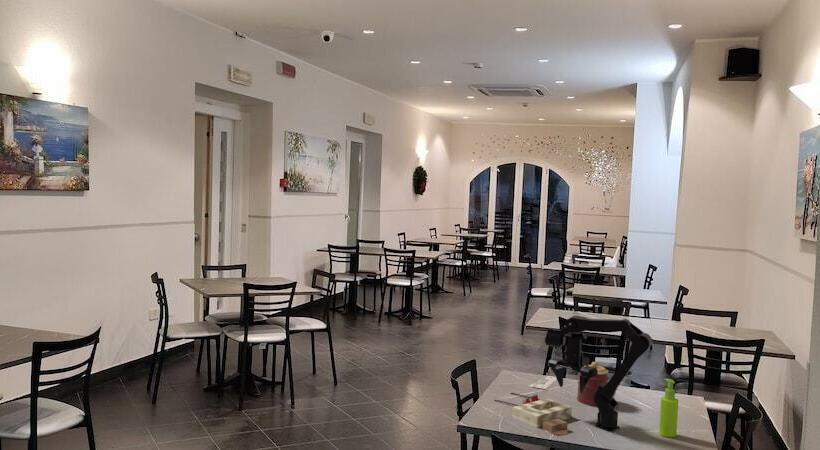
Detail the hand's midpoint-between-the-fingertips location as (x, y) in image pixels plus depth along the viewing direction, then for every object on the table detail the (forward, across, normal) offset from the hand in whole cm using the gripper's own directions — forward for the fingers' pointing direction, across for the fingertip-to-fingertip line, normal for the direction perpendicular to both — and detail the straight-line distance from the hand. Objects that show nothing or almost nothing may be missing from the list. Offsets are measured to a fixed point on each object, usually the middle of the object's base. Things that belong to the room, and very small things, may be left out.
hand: (571, 389), depth 244 cm
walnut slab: (+11, -4, +15) cm, 19 cm away
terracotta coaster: (+12, -4, +14) cm, 19 cm away
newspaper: (+12, +35, -28) cm, 47 cm away
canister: (+12, +6, -26) cm, 29 cm away
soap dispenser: (+12, -30, -18) cm, 37 cm away
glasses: (+12, +26, +2) cm, 28 cm away
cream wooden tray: (+12, +7, +8) cm, 16 cm away
